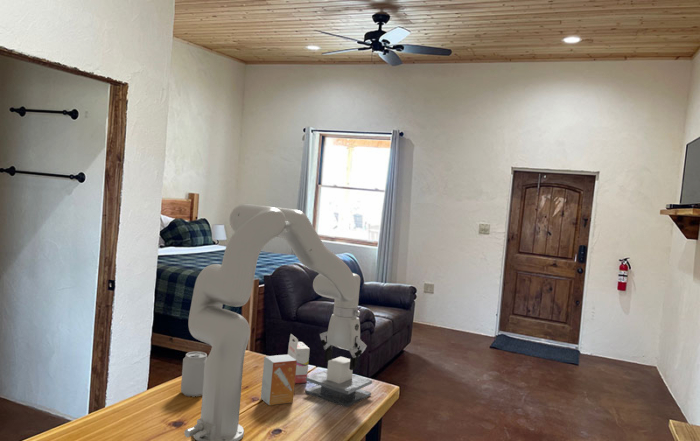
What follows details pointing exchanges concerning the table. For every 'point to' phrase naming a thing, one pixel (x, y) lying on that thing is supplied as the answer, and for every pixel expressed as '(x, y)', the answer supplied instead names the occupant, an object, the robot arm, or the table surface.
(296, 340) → the ink cartridge box
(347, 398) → the stand
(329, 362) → the block
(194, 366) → the can
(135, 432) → the table surface
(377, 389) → the table surface
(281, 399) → the small box
